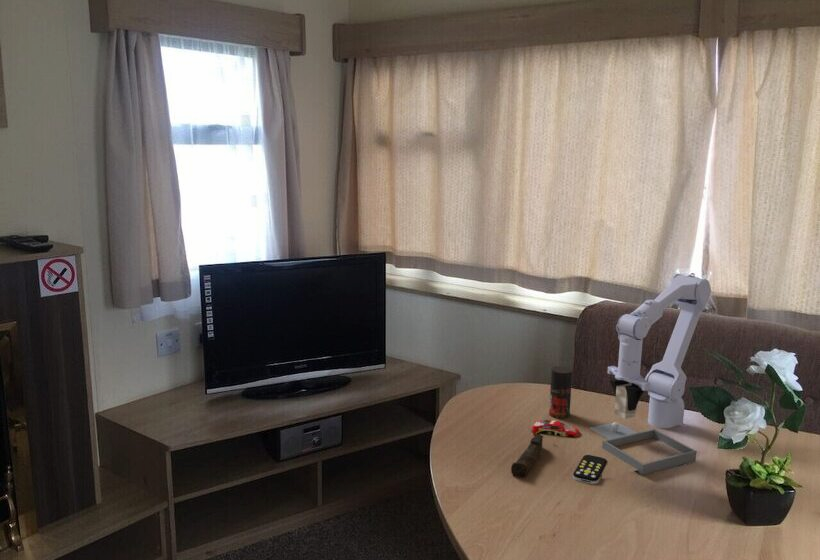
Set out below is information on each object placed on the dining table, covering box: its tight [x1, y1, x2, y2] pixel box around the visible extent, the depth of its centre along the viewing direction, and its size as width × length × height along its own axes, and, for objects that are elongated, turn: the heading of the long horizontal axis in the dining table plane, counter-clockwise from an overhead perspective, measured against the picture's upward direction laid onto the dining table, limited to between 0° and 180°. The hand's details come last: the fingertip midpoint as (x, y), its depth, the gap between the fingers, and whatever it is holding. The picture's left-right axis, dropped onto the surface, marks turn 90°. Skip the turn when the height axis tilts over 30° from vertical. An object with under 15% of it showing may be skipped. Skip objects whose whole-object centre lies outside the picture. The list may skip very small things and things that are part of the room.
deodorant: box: [548, 365, 573, 420], centre depth 214 cm, size 6×6×15 cm
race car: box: [531, 419, 581, 438], centre depth 204 cm, size 13×5×4 cm, turn 73°
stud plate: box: [589, 421, 637, 440], centre depth 204 cm, size 10×10×4 cm
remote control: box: [572, 454, 608, 485], centre depth 183 cm, size 6×13×2 cm, turn 153°
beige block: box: [614, 383, 638, 420], centre depth 198 cm, size 4×4×8 cm
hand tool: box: [510, 433, 544, 479], centre depth 188 cm, size 19×4×5 cm, turn 151°
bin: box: [601, 428, 697, 477], centre depth 191 cm, size 18×15×3 cm
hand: (625, 406), depth 198 cm, fingers closed on beige block, 4 cm apart
